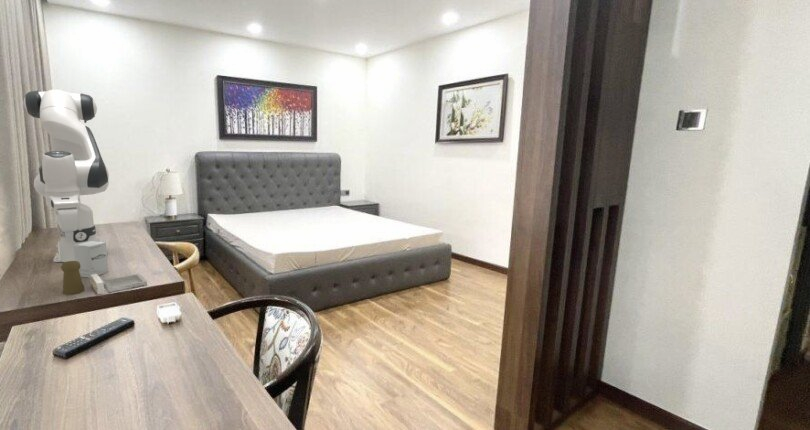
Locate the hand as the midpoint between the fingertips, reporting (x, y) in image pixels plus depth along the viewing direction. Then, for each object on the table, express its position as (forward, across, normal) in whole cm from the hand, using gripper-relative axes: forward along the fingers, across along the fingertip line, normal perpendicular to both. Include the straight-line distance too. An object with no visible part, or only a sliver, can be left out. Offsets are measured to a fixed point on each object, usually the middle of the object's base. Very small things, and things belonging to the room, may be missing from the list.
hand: (67, 239), depth 136 cm
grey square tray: (+19, +3, +14) cm, 24 cm away
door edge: (+19, +2, +6) cm, 20 cm away
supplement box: (+19, -18, +8) cm, 27 cm away
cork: (+19, 0, 0) cm, 19 cm away
